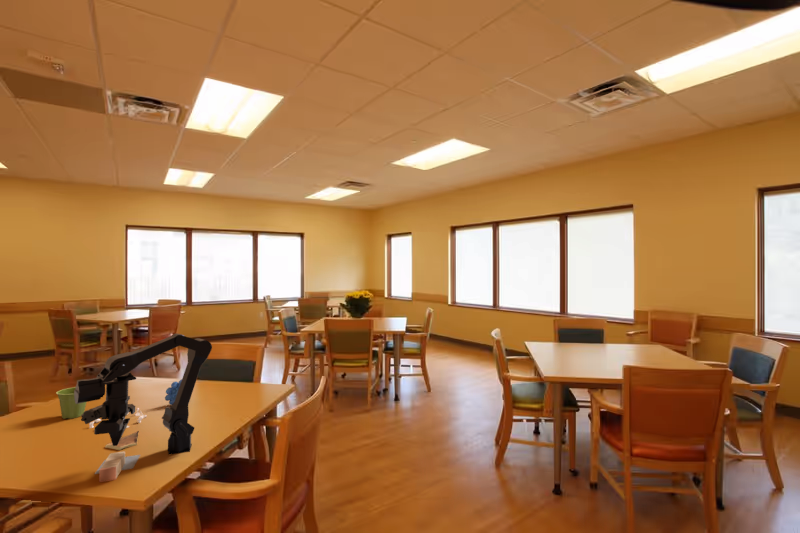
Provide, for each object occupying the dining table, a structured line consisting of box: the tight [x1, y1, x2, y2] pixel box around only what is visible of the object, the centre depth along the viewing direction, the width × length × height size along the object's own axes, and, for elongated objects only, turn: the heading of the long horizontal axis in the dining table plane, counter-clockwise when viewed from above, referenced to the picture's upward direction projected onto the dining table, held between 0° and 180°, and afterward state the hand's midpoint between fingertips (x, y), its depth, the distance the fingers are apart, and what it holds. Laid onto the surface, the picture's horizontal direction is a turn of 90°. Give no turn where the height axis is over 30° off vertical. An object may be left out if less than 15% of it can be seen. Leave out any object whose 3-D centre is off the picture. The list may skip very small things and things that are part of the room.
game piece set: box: [88, 407, 148, 432], centre depth 160 cm, size 19×20×4 cm
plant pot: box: [55, 386, 87, 420], centre depth 166 cm, size 12×12×11 cm
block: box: [98, 451, 126, 483], centre depth 119 cm, size 4×4×10 cm
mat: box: [94, 454, 141, 475], centre depth 124 cm, size 10×10×1 cm
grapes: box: [164, 379, 182, 406], centre depth 183 cm, size 12×7×12 cm, turn 115°
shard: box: [104, 430, 140, 451], centre depth 141 cm, size 13×9×2 cm
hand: (115, 445), depth 121 cm, fingers closed
